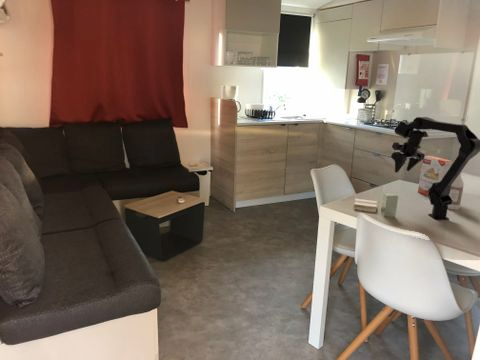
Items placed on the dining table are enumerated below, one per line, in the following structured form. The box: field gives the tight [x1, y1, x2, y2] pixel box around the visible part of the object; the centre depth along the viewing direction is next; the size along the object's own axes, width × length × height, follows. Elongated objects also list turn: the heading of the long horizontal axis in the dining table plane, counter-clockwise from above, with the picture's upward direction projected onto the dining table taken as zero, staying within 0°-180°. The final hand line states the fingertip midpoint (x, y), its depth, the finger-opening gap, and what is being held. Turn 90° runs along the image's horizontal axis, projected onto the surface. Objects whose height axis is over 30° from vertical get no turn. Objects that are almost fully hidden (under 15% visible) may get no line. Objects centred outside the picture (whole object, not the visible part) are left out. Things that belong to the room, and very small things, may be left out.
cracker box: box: [417, 155, 453, 197], centre depth 217 cm, size 14×6×21 cm, turn 25°
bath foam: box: [447, 170, 465, 211], centre depth 197 cm, size 7×7×20 cm
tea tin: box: [380, 192, 399, 218], centre depth 183 cm, size 5×5×10 cm
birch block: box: [353, 198, 378, 213], centre depth 193 cm, size 10×10×3 cm
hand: (401, 171), depth 198 cm, fingers open, 9 cm apart
